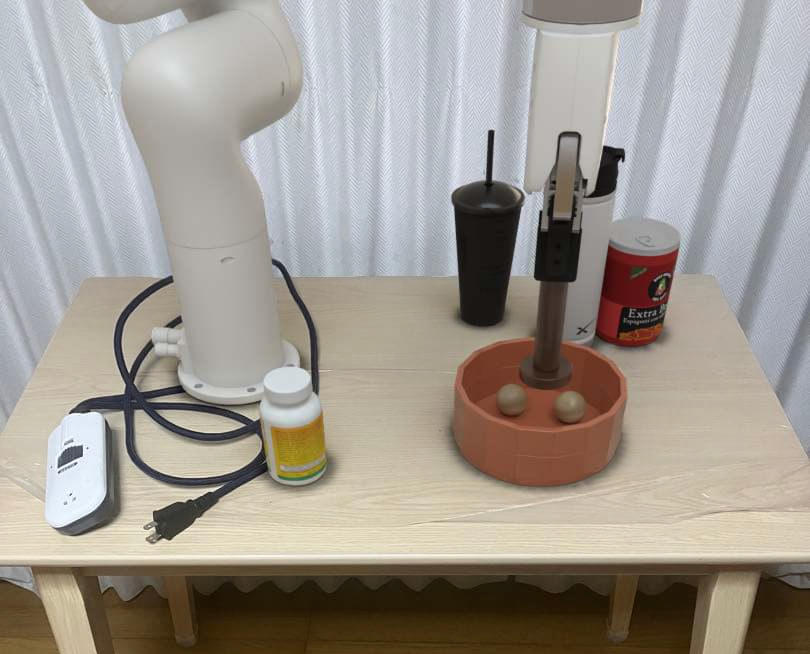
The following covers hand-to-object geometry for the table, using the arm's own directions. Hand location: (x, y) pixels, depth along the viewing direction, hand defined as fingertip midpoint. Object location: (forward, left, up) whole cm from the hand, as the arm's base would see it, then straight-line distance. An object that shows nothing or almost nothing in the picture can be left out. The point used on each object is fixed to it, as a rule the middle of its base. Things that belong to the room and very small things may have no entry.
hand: (555, 269), depth 66 cm
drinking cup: (-7, +26, -19) cm, 32 cm away
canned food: (+9, +25, -19) cm, 32 cm away
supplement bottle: (-21, -4, -19) cm, 28 cm away
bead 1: (-3, +6, -16) cm, 17 cm away
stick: (0, 0, -10) cm, 10 cm away
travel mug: (+2, +21, -19) cm, 28 cm away
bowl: (0, +4, -18) cm, 19 cm away
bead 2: (+3, +6, -16) cm, 17 cm away
